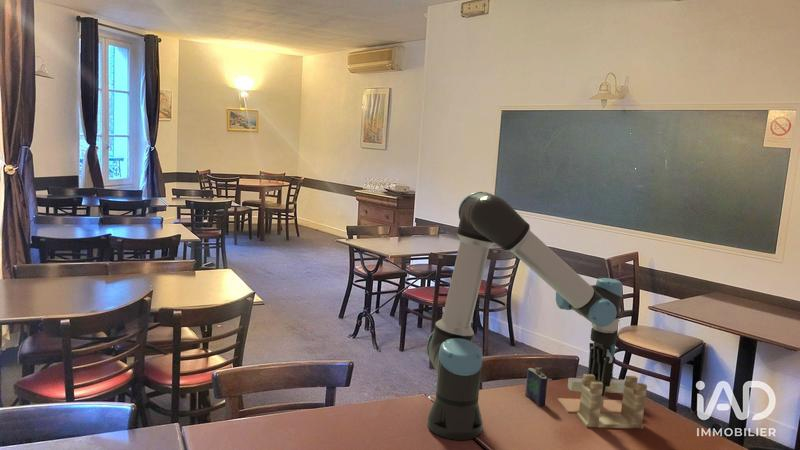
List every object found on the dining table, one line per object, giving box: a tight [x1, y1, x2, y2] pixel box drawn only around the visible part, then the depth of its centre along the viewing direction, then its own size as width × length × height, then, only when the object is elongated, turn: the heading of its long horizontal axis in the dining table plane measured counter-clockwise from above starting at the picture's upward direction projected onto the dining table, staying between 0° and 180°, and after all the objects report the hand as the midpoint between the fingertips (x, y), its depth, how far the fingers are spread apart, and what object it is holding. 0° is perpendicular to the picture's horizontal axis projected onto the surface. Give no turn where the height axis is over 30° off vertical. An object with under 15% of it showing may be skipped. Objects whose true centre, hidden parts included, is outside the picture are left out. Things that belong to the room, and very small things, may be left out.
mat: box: [557, 397, 623, 414], centre depth 179 cm, size 21×9×1 cm, turn 95°
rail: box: [567, 377, 625, 394], centre depth 178 cm, size 18×3×3 cm, turn 95°
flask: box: [524, 367, 548, 407], centre depth 180 cm, size 9×3×11 cm, turn 21°
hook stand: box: [576, 373, 648, 429], centre depth 168 cm, size 17×7×13 cm, turn 95°
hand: (595, 402), depth 179 cm, fingers closed on rail, 3 cm apart
